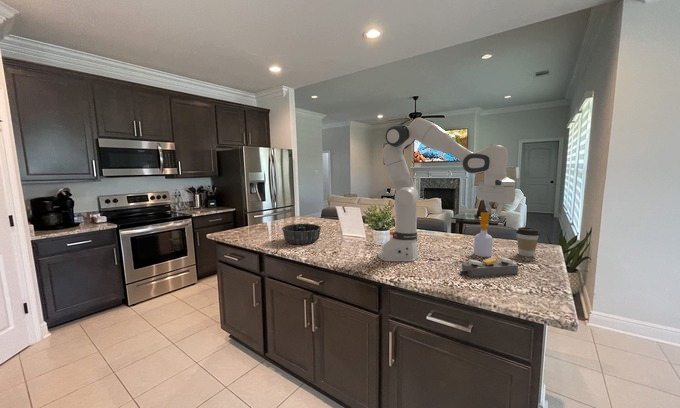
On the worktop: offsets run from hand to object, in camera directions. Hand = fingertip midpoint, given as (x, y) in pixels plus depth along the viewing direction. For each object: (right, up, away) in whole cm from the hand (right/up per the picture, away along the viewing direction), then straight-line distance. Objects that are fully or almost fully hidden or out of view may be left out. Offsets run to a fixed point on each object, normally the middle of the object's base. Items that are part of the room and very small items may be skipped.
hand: (493, 211), depth 130 cm
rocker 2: (0, -24, +3) cm, 24 cm away
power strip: (-1, -29, +3) cm, 29 cm away
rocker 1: (-8, -25, +1) cm, 26 cm away
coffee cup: (+35, -26, +31) cm, 54 cm away
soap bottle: (+11, -26, +32) cm, 42 cm away
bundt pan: (-96, -22, +64) cm, 118 cm away
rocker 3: (+8, -24, +4) cm, 26 cm away
